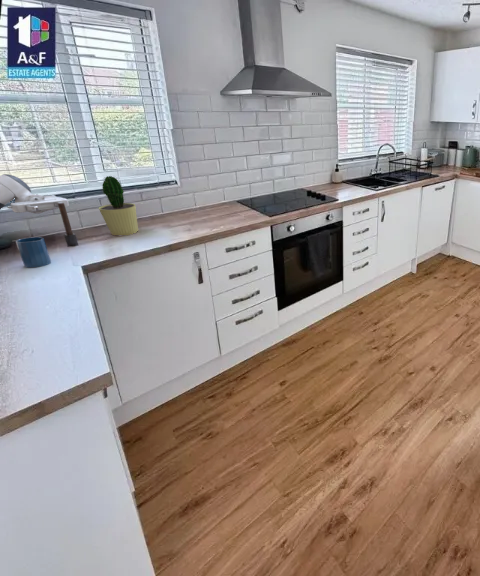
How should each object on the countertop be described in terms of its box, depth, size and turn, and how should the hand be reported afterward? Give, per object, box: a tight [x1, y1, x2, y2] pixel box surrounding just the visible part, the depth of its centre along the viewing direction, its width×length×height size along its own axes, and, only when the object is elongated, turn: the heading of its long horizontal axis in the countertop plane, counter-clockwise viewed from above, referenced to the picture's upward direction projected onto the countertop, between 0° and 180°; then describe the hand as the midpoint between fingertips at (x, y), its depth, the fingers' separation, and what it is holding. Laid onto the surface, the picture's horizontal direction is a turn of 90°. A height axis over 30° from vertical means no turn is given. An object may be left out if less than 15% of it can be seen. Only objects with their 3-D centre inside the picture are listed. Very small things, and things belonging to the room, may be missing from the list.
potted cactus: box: [98, 175, 139, 236], centre depth 184 cm, size 15×15×30 cm
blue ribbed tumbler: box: [15, 236, 52, 268], centre depth 145 cm, size 8×8×10 cm
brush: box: [58, 203, 79, 248], centre depth 165 cm, size 4×4×20 cm
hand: (49, 207), depth 168 cm, fingers open, 8 cm apart
